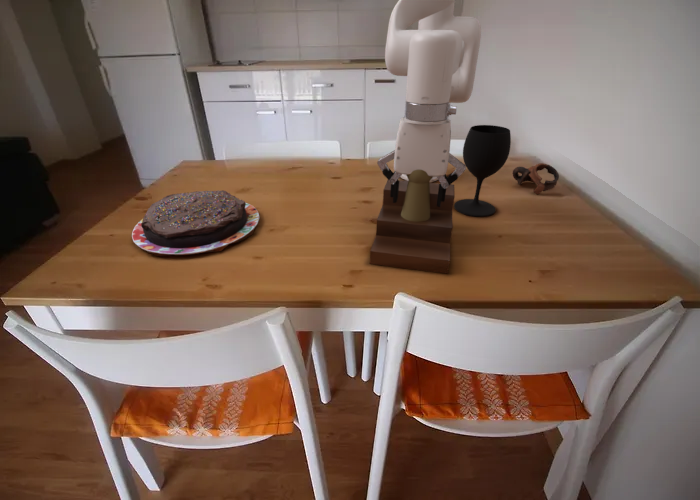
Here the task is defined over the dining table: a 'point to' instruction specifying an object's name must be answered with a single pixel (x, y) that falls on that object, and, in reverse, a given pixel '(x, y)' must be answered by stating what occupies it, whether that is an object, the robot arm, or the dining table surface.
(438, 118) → the robot arm
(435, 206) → the spice rack
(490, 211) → the wine glass
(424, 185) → the olive peg figure
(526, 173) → the brown twisted piece
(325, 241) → the dining table surface
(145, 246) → the chocolate cake
